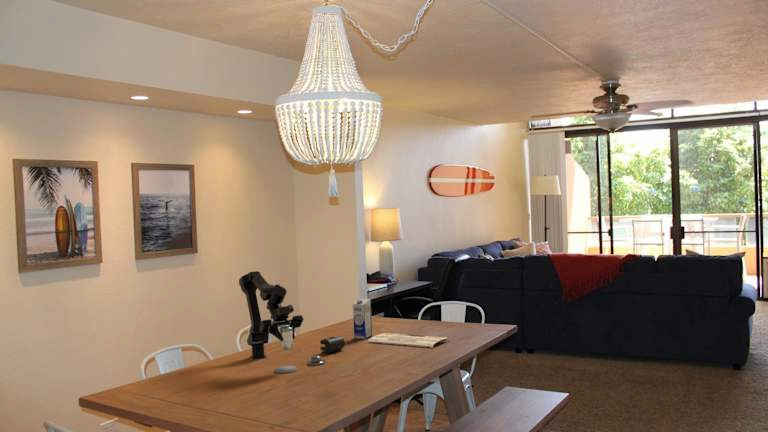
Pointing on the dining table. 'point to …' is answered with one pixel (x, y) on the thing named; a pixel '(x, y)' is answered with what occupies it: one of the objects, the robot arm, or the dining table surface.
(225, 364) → the dining table surface
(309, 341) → the dining table surface
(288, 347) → the drinking glass
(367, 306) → the milk carton
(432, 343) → the newspaper
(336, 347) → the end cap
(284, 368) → the coaster
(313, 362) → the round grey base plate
